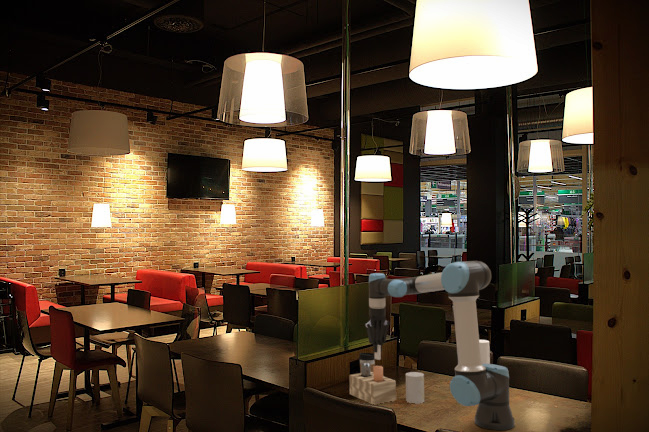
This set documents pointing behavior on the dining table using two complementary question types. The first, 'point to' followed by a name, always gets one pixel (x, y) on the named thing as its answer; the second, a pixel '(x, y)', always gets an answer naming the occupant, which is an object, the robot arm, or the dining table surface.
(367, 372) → the peg steel
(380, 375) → the peg terracotta
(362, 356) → the coffee cup
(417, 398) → the cup
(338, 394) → the dining table surface
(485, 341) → the cylindrical container
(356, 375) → the birch block
